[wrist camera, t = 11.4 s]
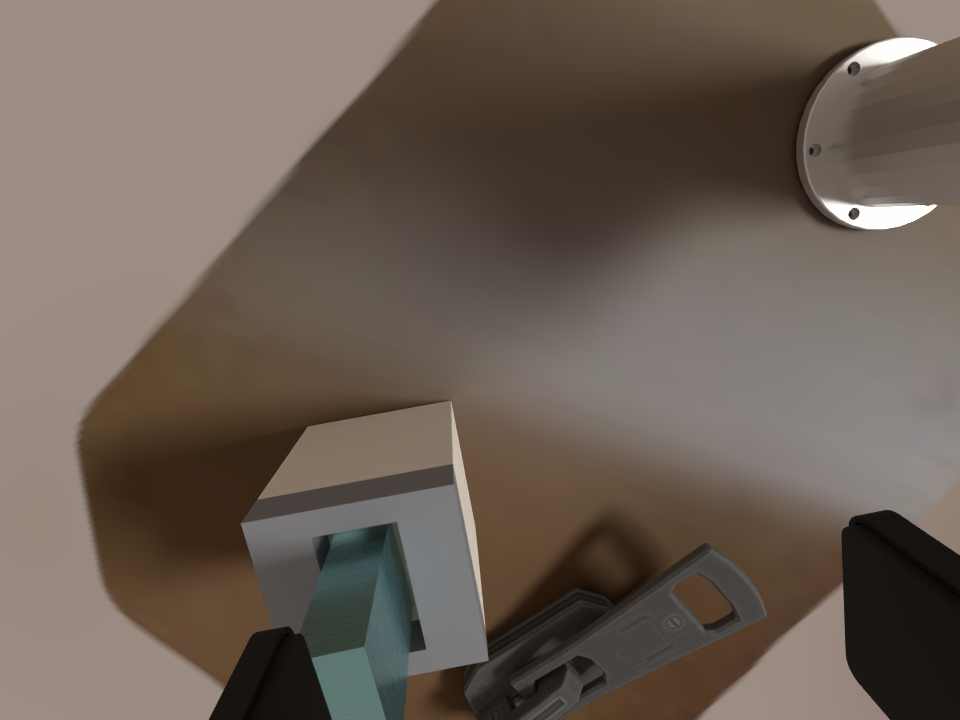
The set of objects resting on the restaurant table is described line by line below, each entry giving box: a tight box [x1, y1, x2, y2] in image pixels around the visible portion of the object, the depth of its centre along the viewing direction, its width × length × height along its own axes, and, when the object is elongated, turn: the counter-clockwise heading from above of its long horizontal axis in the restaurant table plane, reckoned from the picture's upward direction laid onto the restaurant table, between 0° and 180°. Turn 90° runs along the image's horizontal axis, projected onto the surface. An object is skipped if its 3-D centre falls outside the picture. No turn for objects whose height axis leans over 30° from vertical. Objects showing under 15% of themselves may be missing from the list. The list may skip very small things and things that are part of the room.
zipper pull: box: [463, 543, 767, 720], centre depth 44 cm, size 9×7×25 cm
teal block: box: [299, 523, 413, 720], centre depth 27 cm, size 3×6×10 cm, turn 11°
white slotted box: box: [241, 401, 489, 676], centre depth 36 cm, size 11×11×14 cm
